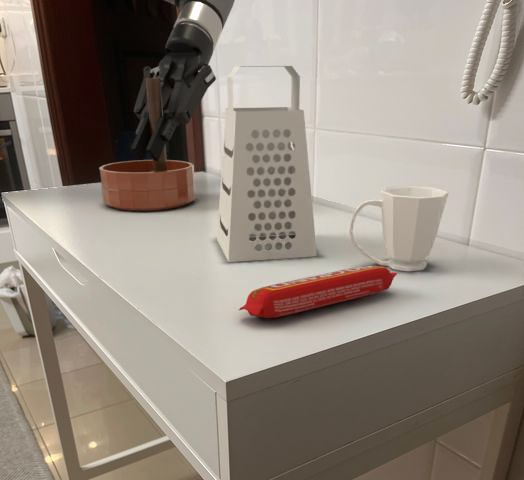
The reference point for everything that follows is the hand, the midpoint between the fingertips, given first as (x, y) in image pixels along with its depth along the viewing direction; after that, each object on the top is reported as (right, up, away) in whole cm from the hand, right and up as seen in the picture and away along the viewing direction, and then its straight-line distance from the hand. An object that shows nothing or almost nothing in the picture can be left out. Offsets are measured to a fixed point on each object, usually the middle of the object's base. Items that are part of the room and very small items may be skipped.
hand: (144, 154), depth 89 cm
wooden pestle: (+2, -4, +6) cm, 7 cm away
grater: (+19, -18, -19) cm, 33 cm away
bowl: (0, -6, +6) cm, 9 cm away
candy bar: (+24, -27, -37) cm, 52 cm away
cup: (+33, -22, -26) cm, 48 cm away
